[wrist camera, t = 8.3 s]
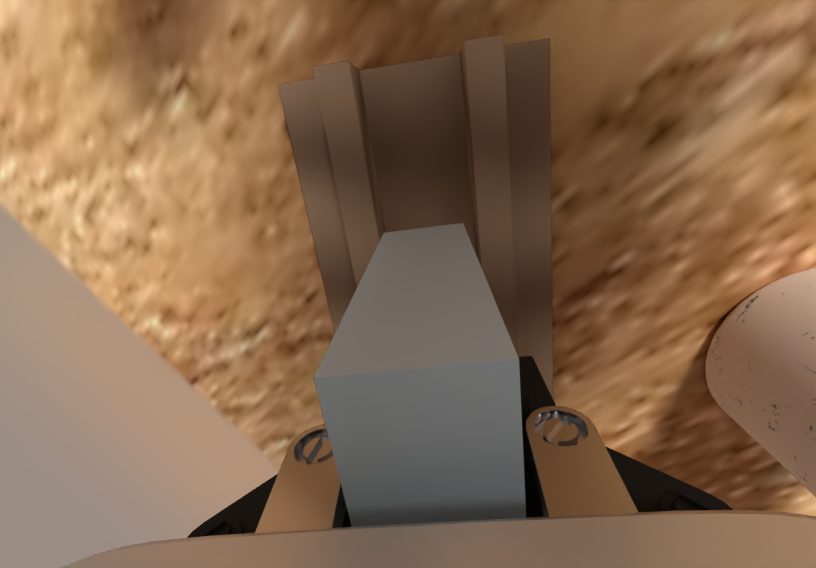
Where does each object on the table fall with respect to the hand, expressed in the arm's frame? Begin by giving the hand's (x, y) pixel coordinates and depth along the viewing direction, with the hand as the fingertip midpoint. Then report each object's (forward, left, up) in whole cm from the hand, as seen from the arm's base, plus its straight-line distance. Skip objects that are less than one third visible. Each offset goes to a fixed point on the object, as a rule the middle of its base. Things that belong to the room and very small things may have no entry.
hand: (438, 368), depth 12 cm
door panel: (0, 0, -2) cm, 2 cm away
